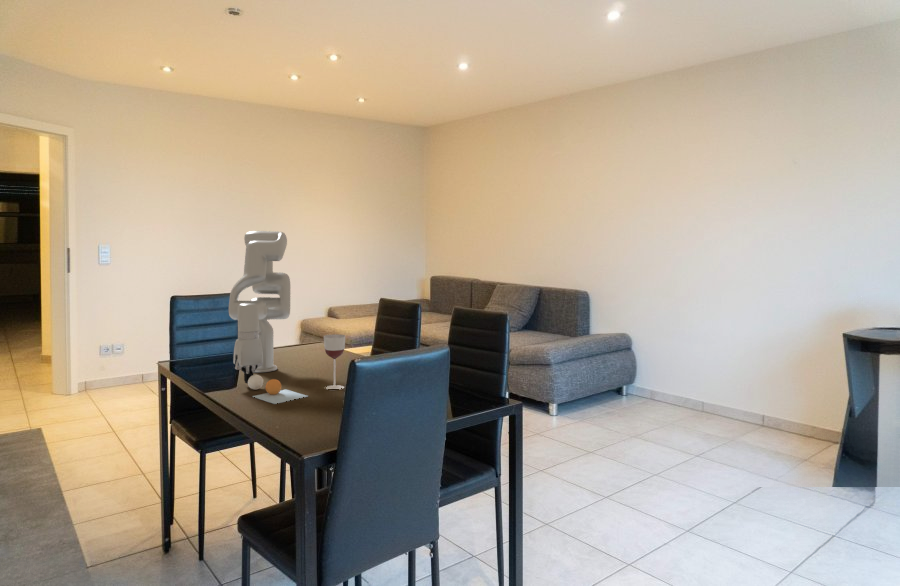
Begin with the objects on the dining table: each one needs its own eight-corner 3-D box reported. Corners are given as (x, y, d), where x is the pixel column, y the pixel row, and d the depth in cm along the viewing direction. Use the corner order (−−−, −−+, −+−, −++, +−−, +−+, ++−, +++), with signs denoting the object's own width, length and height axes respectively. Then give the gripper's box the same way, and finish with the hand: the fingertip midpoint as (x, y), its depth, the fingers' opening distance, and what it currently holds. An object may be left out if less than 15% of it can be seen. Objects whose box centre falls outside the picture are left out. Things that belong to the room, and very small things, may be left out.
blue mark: (252, 396, 207) (252, 396, 207) (285, 389, 218) (285, 389, 218) (274, 404, 198) (274, 403, 198) (308, 396, 209) (308, 396, 209)
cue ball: (250, 375, 214) (253, 389, 213) (263, 372, 218) (267, 386, 217) (243, 377, 218) (247, 392, 217) (257, 374, 222) (261, 388, 221)
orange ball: (264, 377, 209) (272, 386, 206) (277, 375, 213) (285, 383, 210) (261, 390, 211) (268, 399, 208) (274, 387, 215) (282, 396, 212)
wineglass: (349, 386, 226) (349, 335, 224) (337, 391, 218) (338, 338, 216) (331, 384, 228) (331, 333, 227) (319, 389, 220) (319, 337, 219)
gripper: (260, 332, 228) (260, 378, 230) (224, 336, 217) (225, 384, 218) (271, 334, 223) (271, 381, 225) (235, 338, 212) (236, 388, 213)
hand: (248, 382), depth 221 cm, fingers closed
